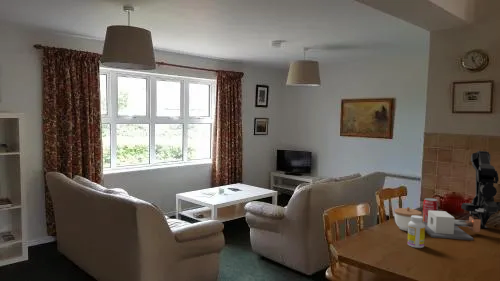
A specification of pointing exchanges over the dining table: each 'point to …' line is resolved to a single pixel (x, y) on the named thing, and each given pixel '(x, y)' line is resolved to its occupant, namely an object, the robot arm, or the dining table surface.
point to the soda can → (429, 207)
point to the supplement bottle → (416, 232)
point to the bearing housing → (444, 226)
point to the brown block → (469, 223)
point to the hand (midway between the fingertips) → (483, 225)
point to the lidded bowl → (405, 217)
